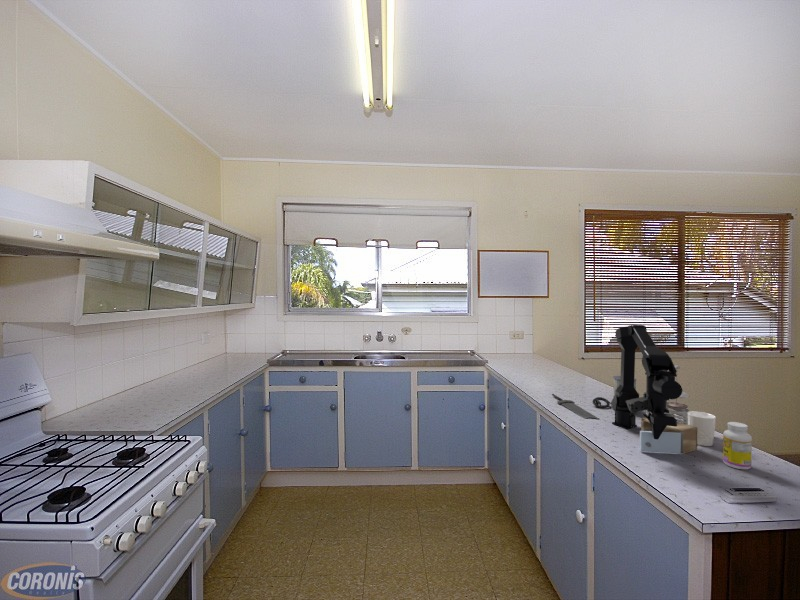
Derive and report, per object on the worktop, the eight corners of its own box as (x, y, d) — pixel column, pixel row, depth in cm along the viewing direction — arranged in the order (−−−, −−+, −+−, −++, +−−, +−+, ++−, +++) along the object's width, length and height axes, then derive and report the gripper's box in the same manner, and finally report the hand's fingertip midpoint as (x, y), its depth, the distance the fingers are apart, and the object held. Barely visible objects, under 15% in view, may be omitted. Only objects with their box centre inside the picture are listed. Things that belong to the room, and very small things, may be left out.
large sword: (585, 422, 161) (585, 417, 161) (545, 396, 196) (545, 392, 196) (601, 421, 162) (601, 416, 162) (559, 396, 197) (559, 392, 196)
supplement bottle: (722, 458, 124) (723, 419, 123) (750, 464, 119) (751, 423, 119) (722, 466, 118) (723, 424, 118) (752, 472, 114) (752, 429, 114)
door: (642, 452, 127) (642, 431, 127) (639, 450, 129) (639, 429, 129) (685, 455, 125) (685, 433, 125) (681, 452, 127) (682, 431, 127)
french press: (697, 435, 144) (698, 368, 143) (662, 432, 146) (663, 367, 145) (683, 426, 153) (684, 363, 153) (651, 424, 156) (652, 362, 155)
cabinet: (641, 439, 140) (641, 418, 140) (655, 435, 143) (655, 415, 143) (682, 453, 127) (683, 431, 127) (697, 449, 131) (697, 427, 130)
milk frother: (640, 414, 168) (641, 380, 168) (604, 413, 169) (604, 380, 168) (622, 404, 182) (623, 373, 182) (589, 404, 183) (589, 373, 182)
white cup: (703, 448, 132) (704, 419, 132) (681, 439, 140) (681, 412, 139) (720, 445, 134) (721, 417, 134) (698, 437, 142) (698, 410, 141)
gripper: (622, 383, 138) (621, 427, 138) (636, 396, 120) (635, 446, 120) (658, 386, 134) (657, 431, 134) (678, 399, 117) (677, 451, 117)
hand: (655, 439), depth 126 cm, fingers closed
